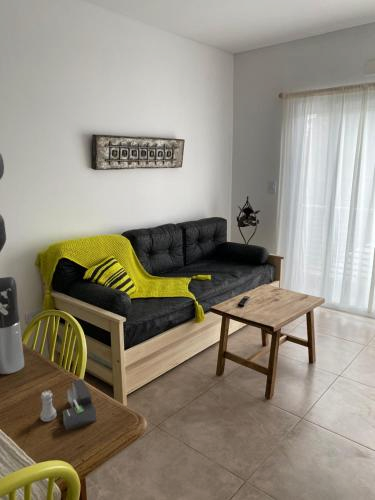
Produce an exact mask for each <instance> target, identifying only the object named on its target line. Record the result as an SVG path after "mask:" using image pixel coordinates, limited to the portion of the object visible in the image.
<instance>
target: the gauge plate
mask: <svg viewBox="0 0 375 500" xmlns="http://www.w3.org/2000/svg"><path fill="white" fill-rule="evenodd" d="M67 401H68V402H69V404H70V407H71V408H74V407H76V408H77V410H80V408H79V406H78V404H77V401H76V399H75V397H74V395H73V390H72V389H71V388H69V389H67Z"/></svg>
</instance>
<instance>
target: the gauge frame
mask: <svg viewBox="0 0 375 500" xmlns="http://www.w3.org/2000/svg"><path fill="white" fill-rule="evenodd" d="M71 385H72V393H73V395H74V397H75V399H76V401H77V404H78V406H79V408H80V410H77V408H76V407H74V408H72V407H71V408H68V409H65V410H62V420H63V426H64V428H65V430H66V431H69V430H73V429H76V428H79V427H82V426H85V425H88V424H90V423H94V422H96V421H97V413H96V406H95V405H94V404H93V402H92V400H93V399H92V394H91V393H90V391H89V389H88V387H87V386H86V384H85V382H84V380H83V379H82V378H81V379H78V380H73V381H71Z"/></svg>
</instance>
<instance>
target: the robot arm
mask: <svg viewBox="0 0 375 500" xmlns="http://www.w3.org/2000/svg"><path fill="white" fill-rule="evenodd" d="M4 173H5V163H4V158H3V156H2V153H1V152H0V180H2V178H3V177H4ZM6 241H7V234H6V224H5V219H4V217H3V216H2V215H1V213H0V253H1V252H2V250H3V249H4V246H5V244H6ZM17 290H18V289H17V281H16V279H15V278H14V277H12V276H5V277H0V374H1V375H9V374H10V375H11V374H14V373H16V372H19V371H21V370H22V369H23V368H24V367H25V357H24V349H23V339H22V332H21V331H22V330H21V324H20V315H19V314H20V313H19V307H18V291H17ZM5 305H6V306H5Z"/></svg>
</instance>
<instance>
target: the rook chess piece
mask: <svg viewBox="0 0 375 500" xmlns="http://www.w3.org/2000/svg"><path fill="white" fill-rule="evenodd" d="M40 399H41V403H42V410H41V412H40V414H39V415H40V420H41V421H43V422H44V423H45V422H46V423H48V422H52V421H54V420H55V418H56V417H57V415H58V414H57V410H56V408H55V407H54V406H53V393H52V391H51V390H49V389H48V390H44V391H42V392H41V395H40Z"/></svg>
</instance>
